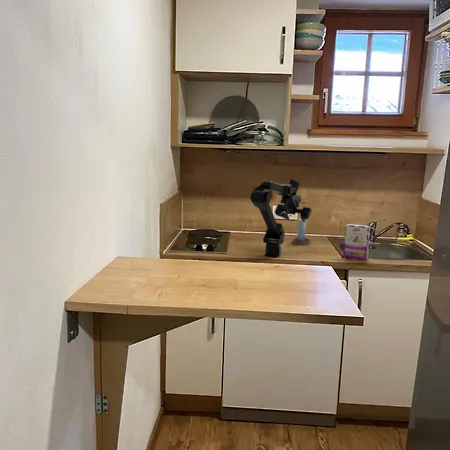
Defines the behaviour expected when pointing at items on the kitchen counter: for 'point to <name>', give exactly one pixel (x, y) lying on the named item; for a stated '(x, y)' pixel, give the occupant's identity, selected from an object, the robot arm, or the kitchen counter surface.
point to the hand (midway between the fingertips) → (296, 221)
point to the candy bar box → (356, 241)
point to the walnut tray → (306, 242)
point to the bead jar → (301, 230)
